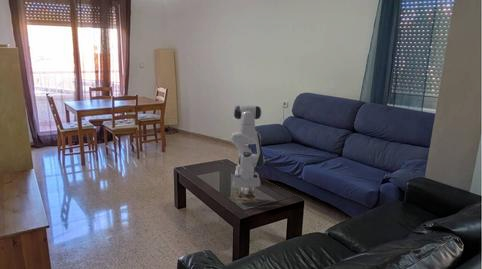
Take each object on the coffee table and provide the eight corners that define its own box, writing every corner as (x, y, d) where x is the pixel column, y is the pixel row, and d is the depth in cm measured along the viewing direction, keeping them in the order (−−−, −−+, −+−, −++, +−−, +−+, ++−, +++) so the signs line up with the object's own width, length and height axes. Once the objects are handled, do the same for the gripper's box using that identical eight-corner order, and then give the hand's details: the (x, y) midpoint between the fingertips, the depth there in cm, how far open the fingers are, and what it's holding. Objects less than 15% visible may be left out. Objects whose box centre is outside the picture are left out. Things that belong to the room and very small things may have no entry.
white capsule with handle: (240, 192, 256) (240, 183, 254) (247, 192, 257) (247, 183, 255) (242, 198, 246) (242, 189, 244) (250, 197, 247) (250, 188, 245)
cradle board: (232, 192, 258) (232, 188, 258) (253, 191, 261) (253, 187, 261) (237, 204, 237) (237, 200, 237) (259, 203, 240) (259, 199, 239)
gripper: (232, 176, 238) (232, 195, 241) (261, 175, 242) (260, 193, 245) (231, 173, 244) (231, 191, 247) (259, 172, 248) (258, 190, 251)
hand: (246, 192), depth 246 cm, fingers open, 8 cm apart
